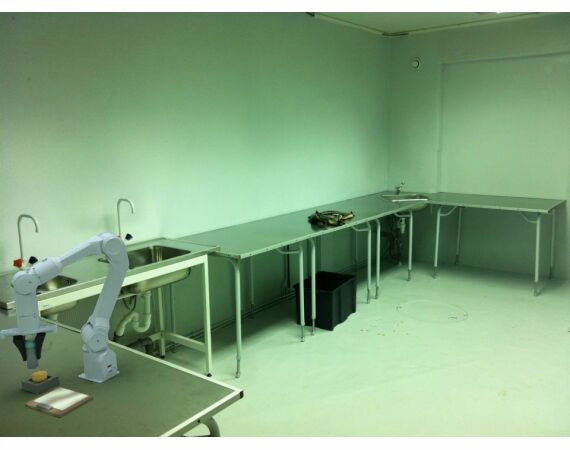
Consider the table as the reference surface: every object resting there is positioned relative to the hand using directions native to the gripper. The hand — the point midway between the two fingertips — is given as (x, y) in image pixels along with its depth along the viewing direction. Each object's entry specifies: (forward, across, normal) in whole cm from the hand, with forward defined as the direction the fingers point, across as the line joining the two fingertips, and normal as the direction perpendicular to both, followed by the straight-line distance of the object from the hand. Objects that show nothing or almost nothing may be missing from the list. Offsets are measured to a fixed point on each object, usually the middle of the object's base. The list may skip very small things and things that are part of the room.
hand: (32, 359), depth 149 cm
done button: (+8, -1, -2) cm, 8 cm away
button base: (+9, -1, -2) cm, 10 cm away
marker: (+2, 0, 0) cm, 2 cm away
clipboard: (+9, -8, +10) cm, 16 cm away
